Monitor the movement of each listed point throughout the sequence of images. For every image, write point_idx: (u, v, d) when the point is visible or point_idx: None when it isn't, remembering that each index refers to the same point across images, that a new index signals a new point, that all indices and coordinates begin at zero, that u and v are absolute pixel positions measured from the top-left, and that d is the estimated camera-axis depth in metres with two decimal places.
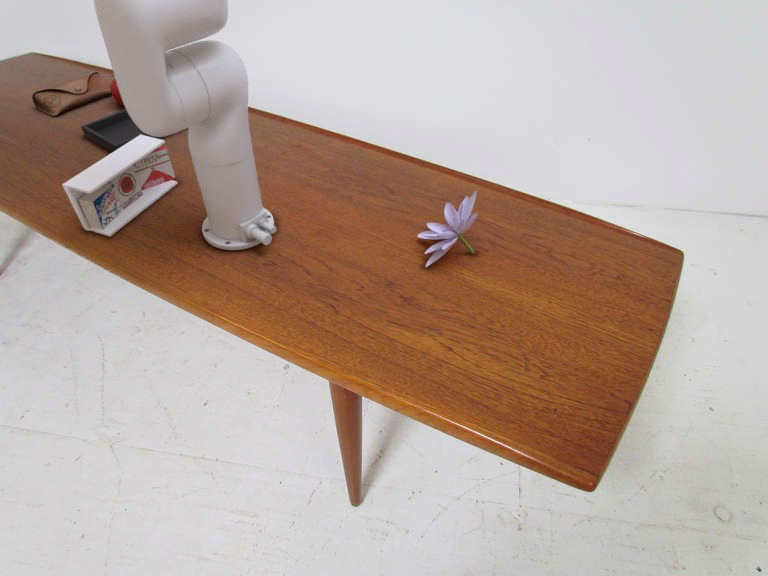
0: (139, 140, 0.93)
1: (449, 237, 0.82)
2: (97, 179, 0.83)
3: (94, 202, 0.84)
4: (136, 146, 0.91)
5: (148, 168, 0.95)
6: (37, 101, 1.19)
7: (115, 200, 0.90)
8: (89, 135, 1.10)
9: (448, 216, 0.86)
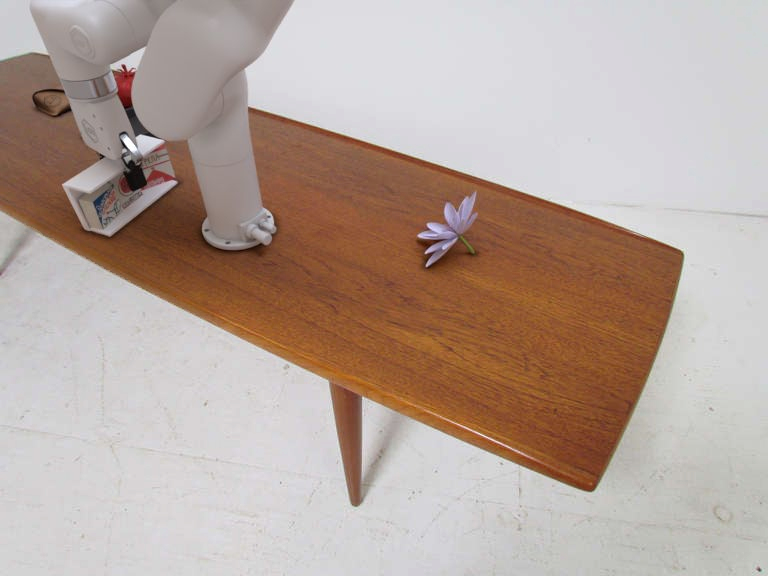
0: (139, 140, 0.93)
1: (449, 237, 0.82)
2: (96, 179, 0.83)
3: (94, 202, 0.84)
4: None
5: (148, 168, 0.95)
6: (37, 101, 1.19)
7: (115, 200, 0.90)
8: None
9: (448, 216, 0.86)
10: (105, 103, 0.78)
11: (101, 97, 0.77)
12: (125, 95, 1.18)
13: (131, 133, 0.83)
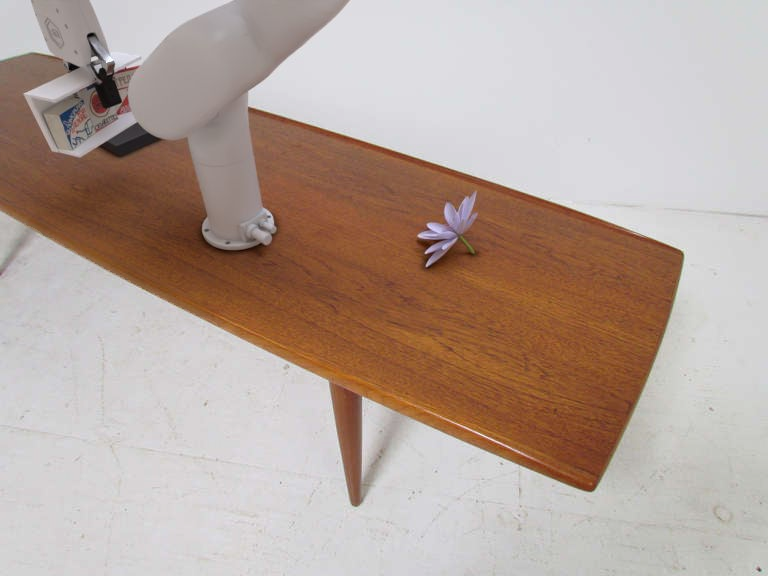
0: (113, 56, 0.84)
1: (449, 237, 0.82)
2: (63, 89, 0.75)
3: (61, 116, 0.76)
4: None
5: (124, 89, 0.87)
6: None
7: (86, 120, 0.81)
8: None
9: (448, 216, 0.86)
10: None
11: None
12: None
13: (101, 36, 0.74)
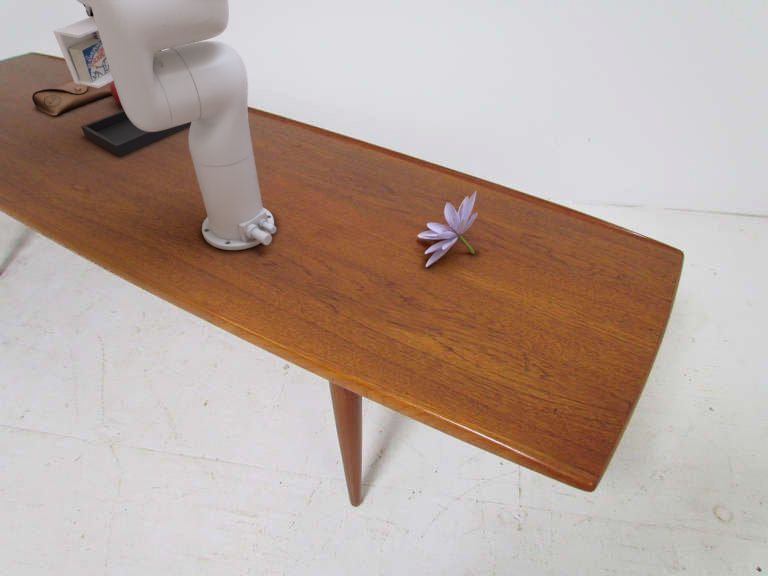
0: None
1: (449, 237, 0.82)
2: (85, 28, 0.90)
3: (83, 51, 0.91)
4: None
5: None
6: (37, 101, 1.19)
7: (104, 58, 0.96)
8: (89, 135, 1.10)
9: (448, 216, 0.86)
10: None
11: None
12: None
13: None
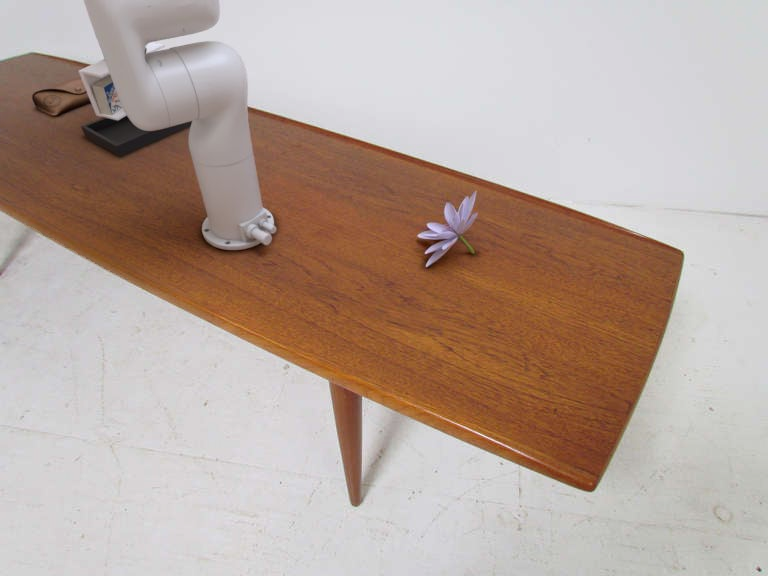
0: None
1: (449, 237, 0.82)
2: (107, 68, 1.00)
3: (105, 88, 1.01)
4: None
5: None
6: (37, 101, 1.19)
7: None
8: (89, 135, 1.10)
9: (448, 216, 0.86)
10: None
11: None
12: None
13: None
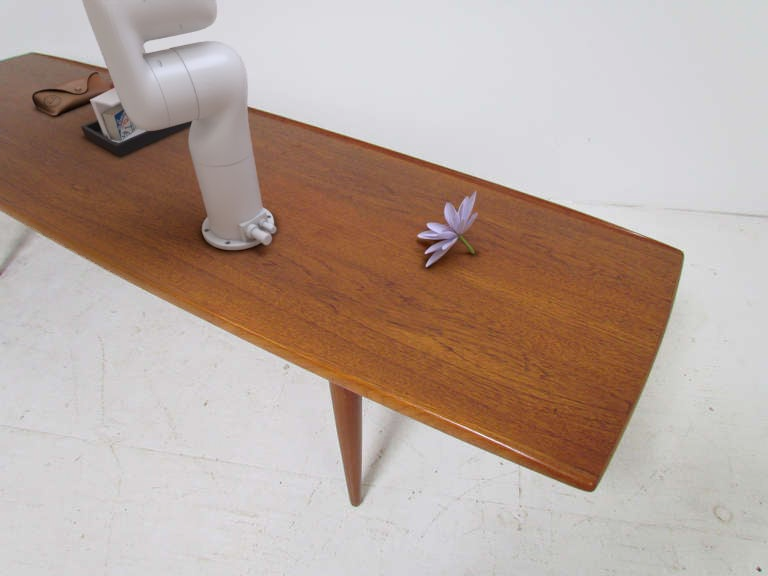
0: None
1: (449, 237, 0.82)
2: (117, 97, 1.04)
3: (115, 116, 1.05)
4: None
5: None
6: (37, 101, 1.19)
7: None
8: (89, 135, 1.10)
9: (448, 216, 0.86)
10: None
11: None
12: None
13: None
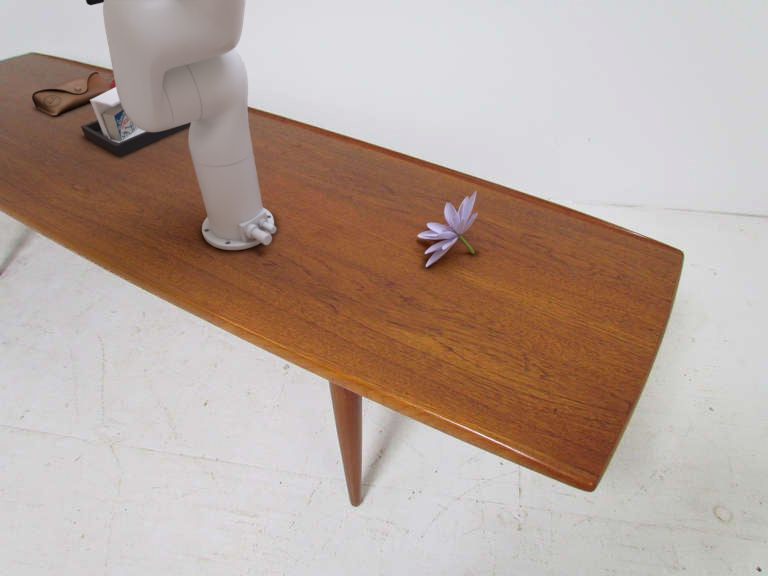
0: None
1: (449, 237, 0.82)
2: (117, 97, 1.04)
3: (115, 116, 1.05)
4: None
5: None
6: (37, 101, 1.19)
7: None
8: (89, 135, 1.10)
9: (448, 216, 0.86)
10: None
11: None
12: None
13: None
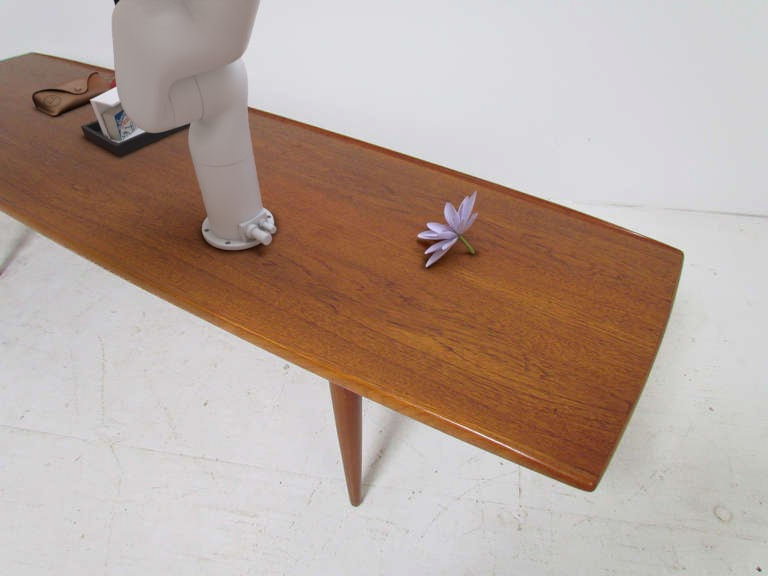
0: None
1: (449, 237, 0.82)
2: (117, 97, 1.04)
3: (115, 116, 1.05)
4: None
5: None
6: (37, 101, 1.19)
7: None
8: (89, 135, 1.10)
9: (448, 216, 0.86)
10: None
11: None
12: None
13: None
